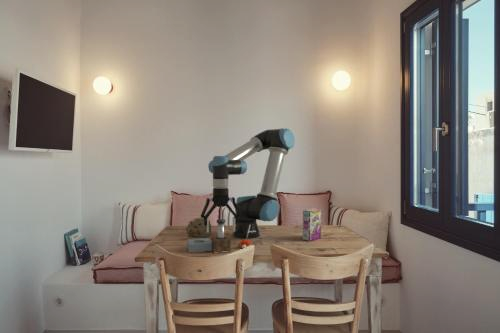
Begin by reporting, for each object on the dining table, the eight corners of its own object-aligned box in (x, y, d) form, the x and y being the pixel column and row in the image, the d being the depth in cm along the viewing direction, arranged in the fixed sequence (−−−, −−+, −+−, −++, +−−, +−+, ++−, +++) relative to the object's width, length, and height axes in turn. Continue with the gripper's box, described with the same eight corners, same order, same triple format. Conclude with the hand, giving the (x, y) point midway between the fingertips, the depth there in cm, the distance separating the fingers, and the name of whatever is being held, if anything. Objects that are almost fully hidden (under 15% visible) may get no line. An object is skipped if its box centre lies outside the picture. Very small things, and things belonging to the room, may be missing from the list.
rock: (213, 238, 194) (208, 222, 193) (188, 245, 193) (184, 229, 192) (213, 227, 214) (209, 213, 213) (190, 233, 213) (186, 218, 212)
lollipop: (257, 249, 168) (257, 225, 168) (238, 249, 167) (237, 225, 167) (256, 246, 174) (255, 222, 174) (237, 246, 173) (237, 223, 173)
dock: (209, 245, 175) (209, 237, 175) (212, 251, 164) (212, 243, 164) (187, 247, 172) (187, 239, 172) (189, 252, 162) (189, 244, 162)
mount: (227, 247, 171) (227, 235, 171) (230, 251, 163) (230, 239, 163) (211, 248, 169) (211, 236, 169) (214, 253, 161) (214, 240, 161)
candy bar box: (309, 241, 182) (309, 211, 182) (302, 240, 186) (302, 210, 186) (321, 238, 190) (321, 209, 190) (314, 236, 194) (314, 208, 194)
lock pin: (224, 249, 169) (224, 218, 168) (226, 251, 164) (225, 220, 164) (216, 249, 168) (215, 219, 167) (217, 251, 163) (217, 220, 163)
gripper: (196, 188, 159) (196, 234, 159) (246, 187, 165) (247, 231, 165) (194, 187, 166) (195, 231, 166) (243, 186, 172) (243, 228, 172)
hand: (220, 231), depth 166 cm, fingers open, 12 cm apart
